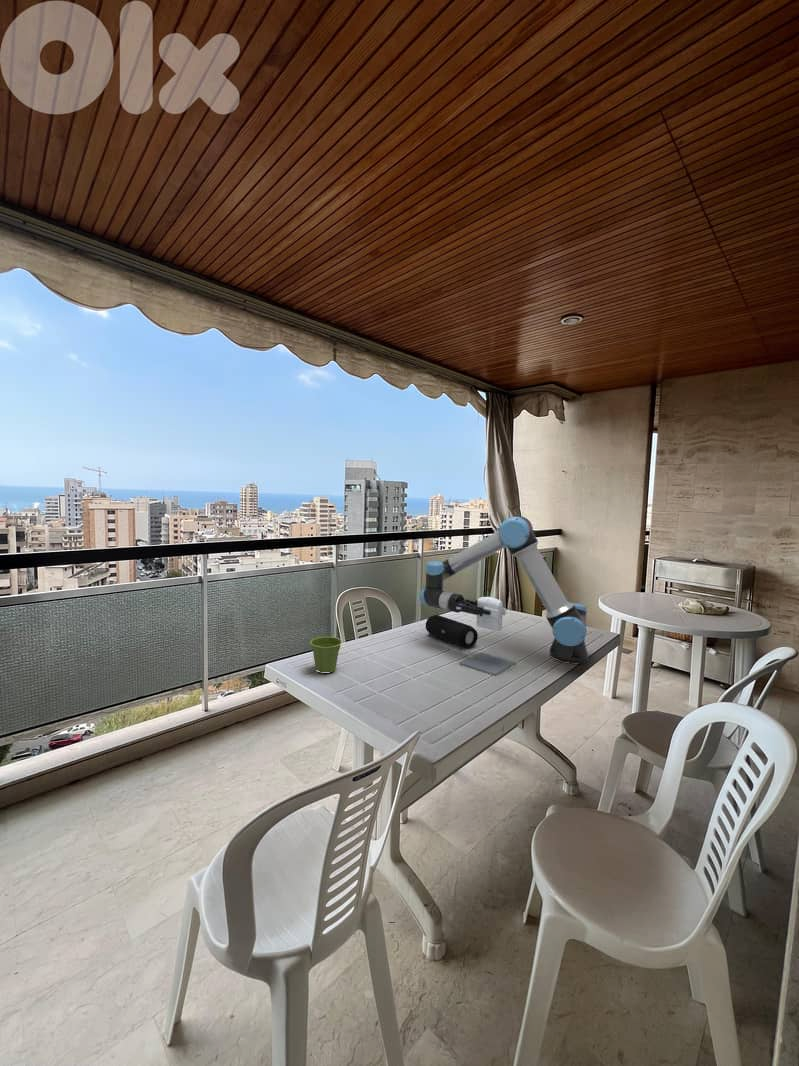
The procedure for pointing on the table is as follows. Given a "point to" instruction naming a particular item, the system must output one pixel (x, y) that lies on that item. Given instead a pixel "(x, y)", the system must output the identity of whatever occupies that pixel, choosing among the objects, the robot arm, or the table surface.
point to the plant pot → (325, 652)
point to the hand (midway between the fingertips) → (502, 613)
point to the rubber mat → (487, 663)
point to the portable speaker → (452, 631)
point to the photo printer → (490, 621)
